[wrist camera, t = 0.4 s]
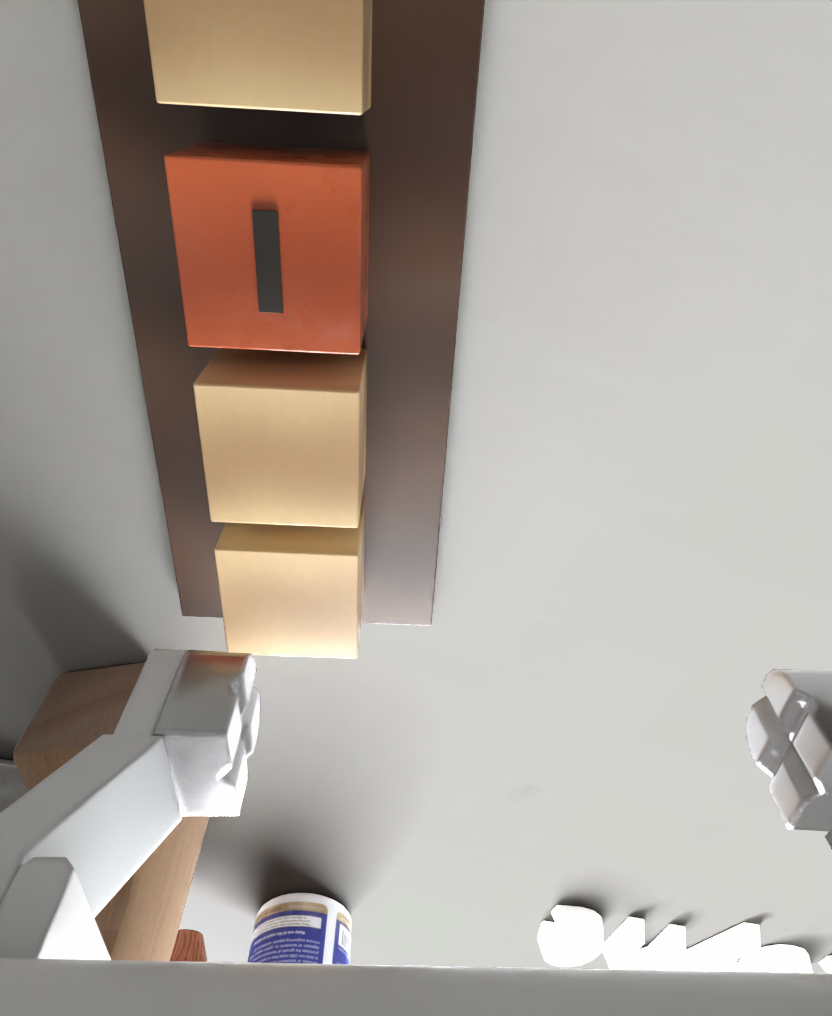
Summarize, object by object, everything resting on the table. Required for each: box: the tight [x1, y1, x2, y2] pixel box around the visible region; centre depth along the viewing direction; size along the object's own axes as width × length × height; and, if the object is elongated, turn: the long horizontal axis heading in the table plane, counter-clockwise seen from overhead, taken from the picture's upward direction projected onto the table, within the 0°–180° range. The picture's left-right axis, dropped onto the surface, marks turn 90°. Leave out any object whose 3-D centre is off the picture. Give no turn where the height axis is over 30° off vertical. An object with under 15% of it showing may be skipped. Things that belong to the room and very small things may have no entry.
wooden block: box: [13, 662, 210, 961], centre depth 25 cm, size 9×4×18 cm, turn 10°
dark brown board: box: [78, 0, 485, 659], centre depth 20 cm, size 24×10×4 cm, turn 177°
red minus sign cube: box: [164, 142, 370, 355], centre depth 18 cm, size 4×4×4 cm
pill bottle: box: [248, 893, 352, 964], centre depth 37 cm, size 6×6×10 cm
